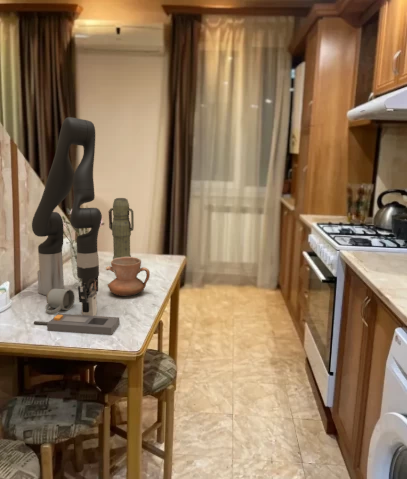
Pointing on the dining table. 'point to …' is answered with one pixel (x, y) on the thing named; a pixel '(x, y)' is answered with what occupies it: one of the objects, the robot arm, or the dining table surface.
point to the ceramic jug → (127, 276)
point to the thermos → (121, 227)
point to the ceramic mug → (59, 300)
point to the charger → (91, 305)
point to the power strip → (82, 324)
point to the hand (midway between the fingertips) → (89, 308)
